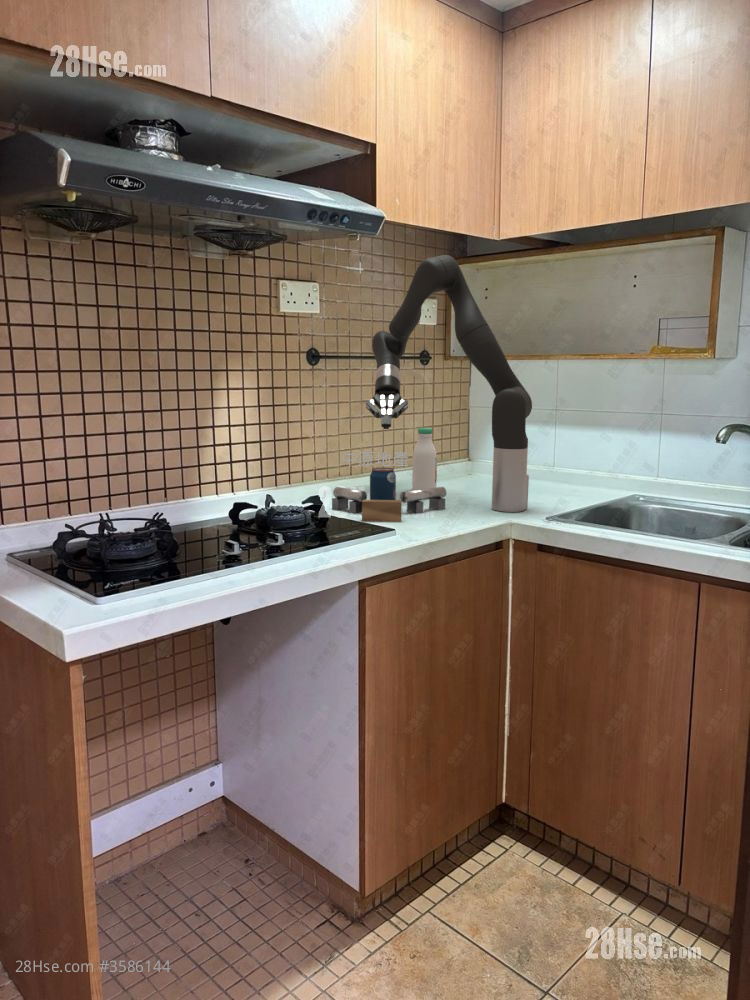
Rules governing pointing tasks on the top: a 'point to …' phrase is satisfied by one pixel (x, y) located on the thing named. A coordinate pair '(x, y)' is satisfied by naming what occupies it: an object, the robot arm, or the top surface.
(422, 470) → the milk bottle
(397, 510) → the block
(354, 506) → the shaft
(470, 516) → the top surface
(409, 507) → the shaft
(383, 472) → the soda can
